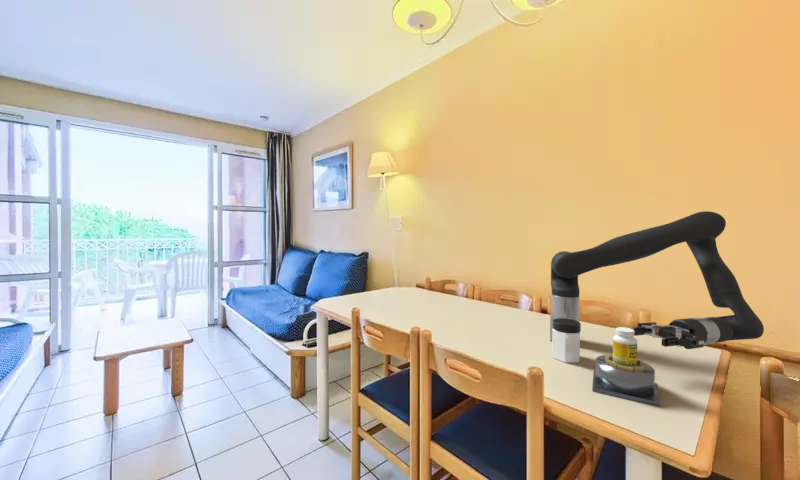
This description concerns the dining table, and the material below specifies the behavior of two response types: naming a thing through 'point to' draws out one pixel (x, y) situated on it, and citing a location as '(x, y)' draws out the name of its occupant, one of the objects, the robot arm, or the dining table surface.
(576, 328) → the jar
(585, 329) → the dining table surface
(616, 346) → the supplement bottle
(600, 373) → the gold-rimmed grey pod
